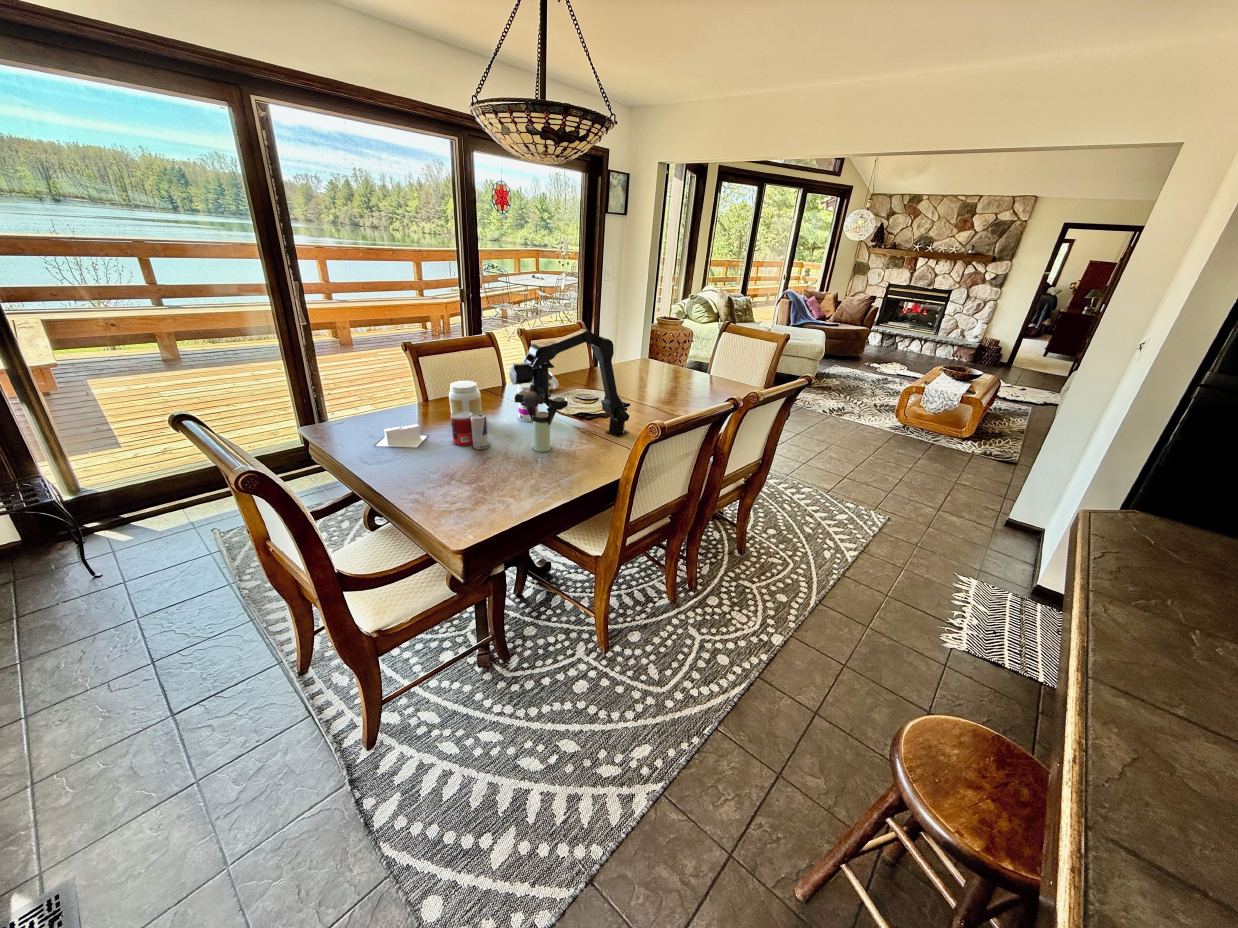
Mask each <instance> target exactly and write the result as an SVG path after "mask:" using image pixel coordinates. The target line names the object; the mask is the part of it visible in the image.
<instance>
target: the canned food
mask: <svg viewBox="0 0 1238 928" xmlns="http://www.w3.org/2000/svg"><path fill="white" fill-rule="evenodd" d="M472 415H473V413H471V412H468V411H459V412H455V413H452V414H451V413H450V425H451V433H452V442H453V444H454V445H456V446H459V447H463V446H464V447H465V446H470V445H473V437H472V426H471V416H472Z"/></svg>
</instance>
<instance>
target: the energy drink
mask: <svg viewBox="0 0 1238 928" xmlns="http://www.w3.org/2000/svg"><path fill="white" fill-rule="evenodd" d="M471 426H472V437H473V443H472V446H473V448H474V449H476V450H485V449H487V448H488V447H489V435H488V434H489V433H488V423H487V417H486V415H485V414H484V413H482V414H474V415H472V416H471Z"/></svg>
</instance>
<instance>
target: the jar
mask: <svg viewBox="0 0 1238 928" xmlns="http://www.w3.org/2000/svg"><path fill="white" fill-rule="evenodd" d="M532 436H533V437H532V438H533V440H532V441H533V443H532V444H533V450H534V451H535V452H538V453H539V452H540V453H544V452H545V453H546V452H548V451H550V450H551V424H550V425H549V424H548V422H535V421H532Z"/></svg>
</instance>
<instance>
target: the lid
mask: <svg viewBox="0 0 1238 928" xmlns="http://www.w3.org/2000/svg"><path fill="white" fill-rule="evenodd" d="M532 420H533V421H535V422H548V411H538V412H535V413H533V414H532ZM533 421H532V422H533Z"/></svg>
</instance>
